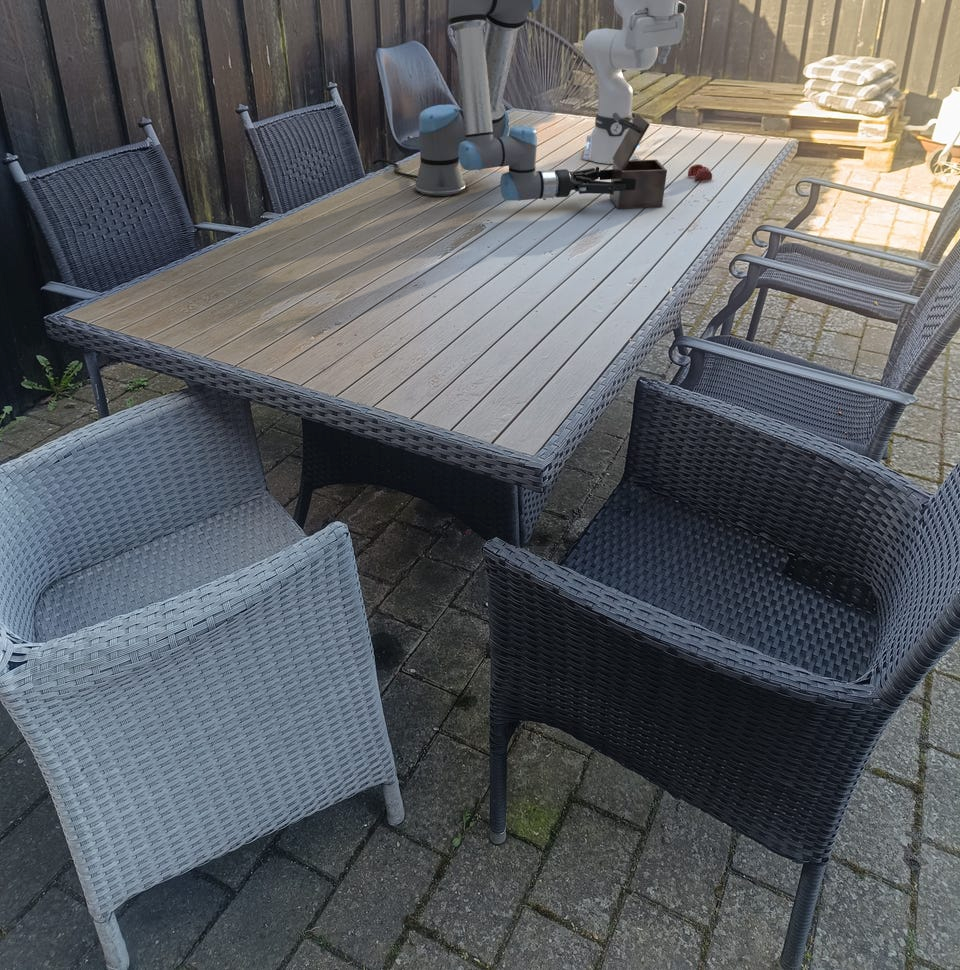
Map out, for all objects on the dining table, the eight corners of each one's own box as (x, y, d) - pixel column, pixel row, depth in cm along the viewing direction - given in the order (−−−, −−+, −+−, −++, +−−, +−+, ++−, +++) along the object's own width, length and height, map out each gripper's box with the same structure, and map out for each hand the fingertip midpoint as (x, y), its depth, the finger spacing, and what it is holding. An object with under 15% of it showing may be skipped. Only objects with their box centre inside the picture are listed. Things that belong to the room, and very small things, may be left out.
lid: (639, 114, 238) (617, 102, 235) (650, 124, 230) (626, 111, 227) (614, 159, 245) (591, 148, 242) (623, 170, 237) (600, 158, 234)
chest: (652, 195, 253) (656, 159, 246) (662, 206, 245) (667, 170, 238) (609, 196, 251) (613, 160, 245) (617, 208, 244) (621, 171, 237)
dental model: (703, 160, 269) (714, 167, 263) (701, 174, 271) (713, 181, 265) (687, 162, 268) (698, 169, 262) (685, 176, 270) (696, 183, 264)
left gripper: (542, 185, 251) (613, 181, 255) (566, 209, 233) (641, 204, 237) (544, 159, 247) (615, 155, 251) (567, 181, 229) (644, 176, 233)
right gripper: (641, 11, 211) (635, 71, 220) (690, 5, 223) (683, 62, 231) (622, 9, 215) (616, 68, 223) (671, 3, 226) (664, 59, 234)
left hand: (627, 179), depth 244 cm, fingers closed on chest, 10 cm apart
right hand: (651, 65), depth 227 cm, fingers open, 8 cm apart
